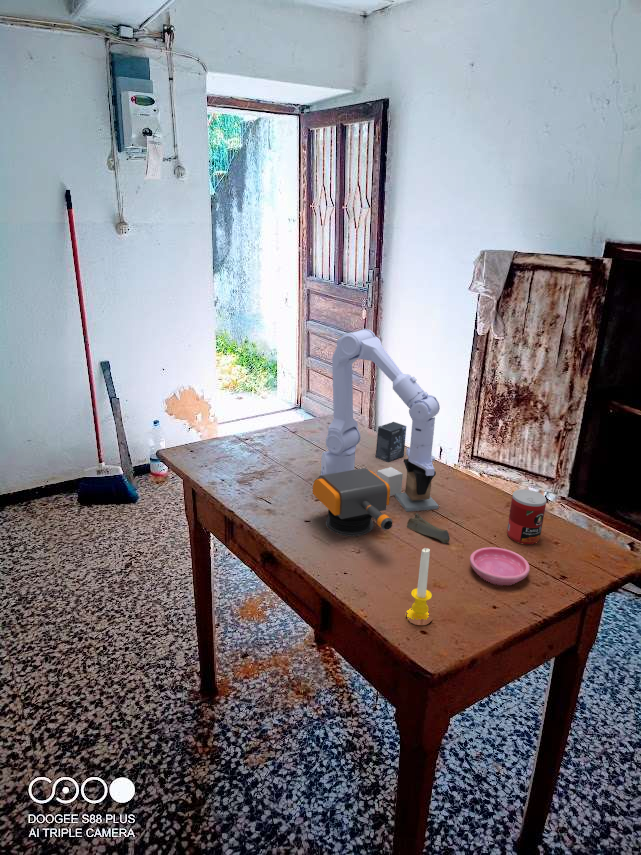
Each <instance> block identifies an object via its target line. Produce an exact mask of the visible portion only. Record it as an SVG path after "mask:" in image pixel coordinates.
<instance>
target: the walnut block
mask: <svg viewBox="0 0 641 855" xmlns="http://www.w3.org/2000/svg"><path fill="white" fill-rule="evenodd" d="M432 481H433V479H432V480H431V482H430V484H429V486H428V489H427V491H426V494H424V495H418V494H417V487H416V477H415V474H414V472H407V471H406V480H405V490H404V492H405V493H406V494H407V495H408V496H409V498H410V499H411V500H412V501H413V500H425V499H430V497H431V491H432V490H431V489H432Z"/></svg>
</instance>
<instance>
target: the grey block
mask: <svg viewBox="0 0 641 855" xmlns="http://www.w3.org/2000/svg"><path fill="white" fill-rule="evenodd" d="M403 474H404V473H403V472H401V471H399V470H397V469H395V468H394V467H392V466H389V467H385V468H383V469H379V470H377V472H376V475H377V476H379V477H380V478H381V479H382V480H384V481H385V482H386V483H388V484H389V487H390V497H391V496H395V493H402V489H403V488H402V486H403Z"/></svg>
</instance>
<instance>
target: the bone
mask: <svg viewBox="0 0 641 855" xmlns="http://www.w3.org/2000/svg"><path fill="white" fill-rule="evenodd" d="M406 528H407V529H410V530H412V531H413V532H416V533H418V534H422V535H424V536H427V537H431V538H434V539H436V540H439V541H440V542H441V543H443V544H448V543H449V542H450V539H451V538H450V535H449V534H450V533H449V531H448V530H447V529H441V528H439V527H437V526H435V525H433V524H432V523H430V522H428V521H427V520H426V519H424V518H423V517H422V516H421V515H420V514H419V513H418V512H416V513H415V514H414V517H410V518H409V519H408V520H407V523H406Z"/></svg>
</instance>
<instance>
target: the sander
mask: <svg viewBox="0 0 641 855" xmlns="http://www.w3.org/2000/svg"><path fill="white" fill-rule="evenodd" d="M312 494H313V495H314V497H316V498H317V499H318V501H320V502H321V504H322V505H324V506H325V507H326V509H327V515H328V516H327V517H326V521H325V526H326V528H327V527H328V528H329V529H330V530H331V532H332V531H333V532H332V533H334V532H335V533H334V534H336V533H337V534H336V535H339V534H340V536H344V535H345V536H344V537H359V536H364V535H367V534H369V533H371V532H372V530H373V529H374V525H375V524H374V520H375V522H376V524H377V526H379V527H380V529H382V530H384V531H387V530H390V529H391V528H392V526H393V519H392V518H391V517H389V515H388V514H385V513H382V512H383V511H386V510H387V506H390V497H391V496H390V487H389V484H388V483H386V482H385V481H384V480H382V479H381V478H380V477H379V476H377V473H375V472H374V471H373V470H370V469H368V468H365V467H363V468H357V469H354V470H350V471H344V472H338V473H332V474H326V475H319V476H318V478H317V479H315V480H314V482H313V484H312ZM372 518H373V519H374V520H373V519H372ZM328 528H327V529H328ZM329 529H328V530H329ZM330 530H329V531H330Z"/></svg>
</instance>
